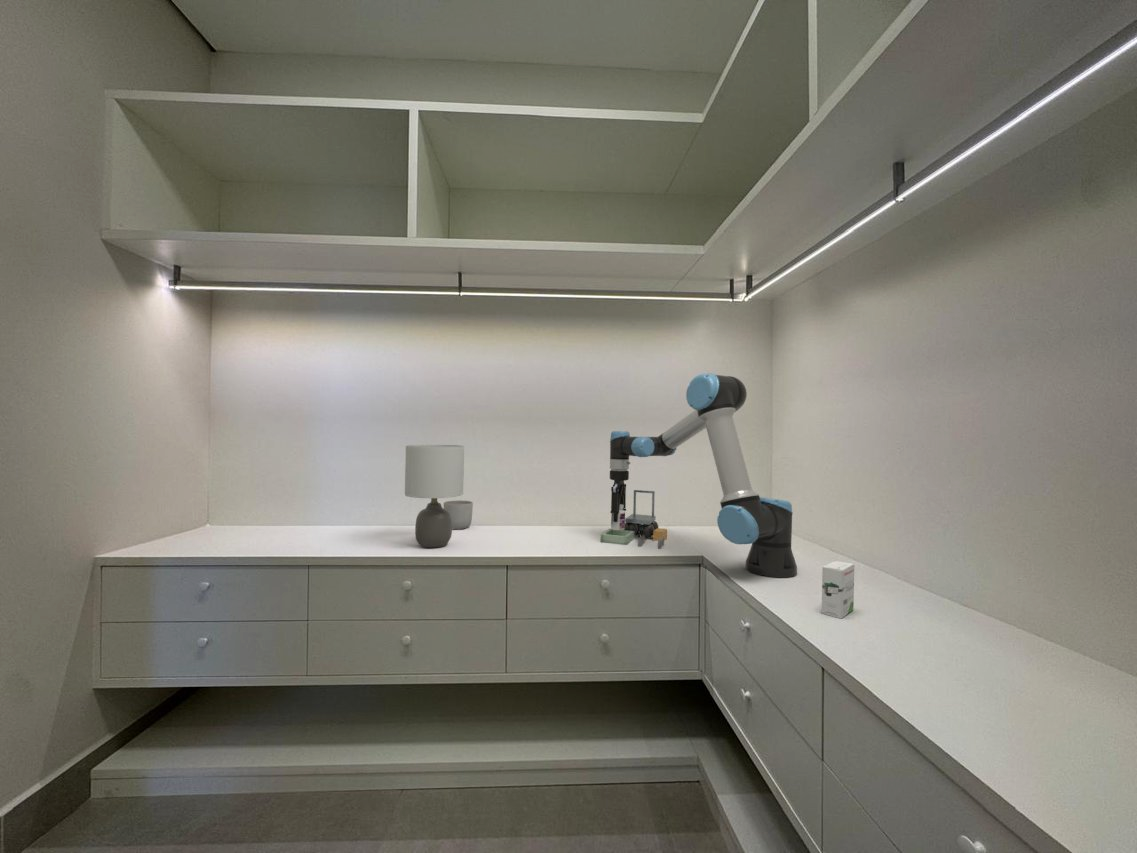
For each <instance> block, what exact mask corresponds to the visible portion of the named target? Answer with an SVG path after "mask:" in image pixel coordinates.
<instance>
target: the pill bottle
mask: <svg viewBox="0 0 1137 853" xmlns="http://www.w3.org/2000/svg"><path fill="white" fill-rule="evenodd" d="M623 508H624V505H623V504H620V508H619V513H620V530H624V529H625V523H626V522H625V518H626V511H624V510H623ZM624 509H625V508H624ZM610 514H611V517H610V518H611V520H610V525H611V526H610V529H612V522H613V513H610Z"/></svg>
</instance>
